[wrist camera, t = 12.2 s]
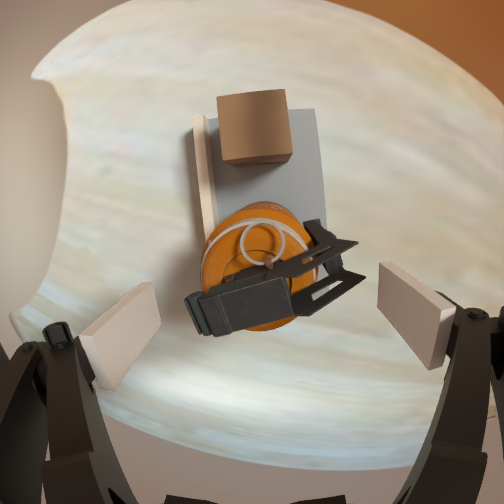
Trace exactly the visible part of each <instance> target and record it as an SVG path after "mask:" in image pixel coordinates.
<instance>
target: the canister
mask: <svg viewBox="0 0 504 504" xmlns="http://www.w3.org/2000/svg"><path fill="white" fill-rule="evenodd" d="M303 226H304V228H303ZM303 226H302V225H301V224H300V222H299V221H298V220H297V219H296V217H295V216H294V215H293V214H292V213H291V212H290V211H289V210H288V209H287V208H285V207H283V206H282V205H279V204H277V203H273V202H266V201H262V202H255V203H252V204H249V205H247V206H245V207H244V208H242V209H240V210H239V211H237V212H236V213H234V214H233V215H231V216H230V217H228V218H227V219H225V220H224V221H223V222H221V223H220V224H219V225H218V226H217V227H216V228H215V229H214V231H213V232H212V233H211V234H210V236H209V238H208V240H207V241H206V244H205V246H204V249H203V253H202V258H201V271H200V279H201V286H202V289H203V291H202V292H201V291H199V292H195V293H192V294H190V295H189V296H188V297H187V298H185V299H184V302H185V304H186V307H187V309H188V311H189V314H190V316H191V318H192V320H193V323H194V325H195V327H196V329H197V331H198V334H199V335H201V334H202V333H203V335H204V336H209V335H212V334H213V336H214V337H219V336H224V335H228V334H231V333H232V332H235V331H239V330H243V329H245V330H249V331H267V330H273V329H276V328H279V327H281V326H283V325H285V324H287V323H289V322H291V321H292V320H294V319H295V318H296V317H298V316H311V315H312V314H314V313H315V312H317V311H318V310H320V309H321V308H323V307H324V306H326V305H327V304H329V303H330V302H332V301H333V300H335V299H336V298H338V297H339V296H341V295H342V294H344V293H345V292H347V291H348V290H350V289H351V288H353V287H354V286H355V285H357V284H358V283H360V282H361V281H362V280H364V279H365V278H366V276H363V275H360V274H356V273H353V272H350V271H347V270H345V269H344V268H343V267H342V266H343V263H342V259H341V255H340V254H341V253H343V252H345V251H346V250H348V249H350V248H352V247H353V246H355V245H357V244H358V243H359V242H356V241H349V240H342V239H337V238H336V236H335V235H334V234H333V233H331V232H330V231H329V232H328V231H327V230H326V229H325V228H323V227H322V225H321V222H320V218H318V219H314V220H309V221H304V222H303ZM321 264H322V265H323V267H324V268H325V270H326V272H327V273H328V276H327V277H325V278H323V279H321V280H319V281H318V282H316V281H317V277H318V270H319V266H320V265H321ZM336 281H343V282H341V283H340V284H338V285H337V286H335V287H334V288H332V289H331V290H329V291H328V292H326V293H325V294H323V295H322V296H320V297H319V298H317V299H315V300H313V298H312V295H313V294H314V293H316V292H318V291H320V290H322V289H323V288H325V287H327V286H329V285H331V284H333V283H334V282H336Z"/></svg>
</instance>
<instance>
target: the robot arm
mask: <svg viewBox="0 0 504 504" xmlns="http://www.w3.org/2000/svg"><path fill="white" fill-rule="evenodd" d="M377 307H378V308H379V310H380V311H381V312H382V313H383V314H384V316H385V317H386V318H387V319H388V320H389V322H390V323H391V324H392V325H393V326H394V328H395V329H396V330H397V331H398V333H399V334H400V335H401V336H402V338H403V339H404V340H405V341H406V343H407V344H408V345H409V346H410V348H411V349H412V350H413V351H414V353H415V354H416V355H417V357H418V358H419V359H420V360H421V362H422V363H423V364H424V366H425V367H426V368H427V370H432V369H435V368H438V367H441V366H443V363H444V359H445V355H446V354H447V355H448V356H449V358H450V362H449V366H448V369H447V372H446V375H445V378H444V380H445V381H444V385H443V389H442V392H441V395H440V399H439V402H438V405H437V408H436V411H435V414H434V417H433V420H432V423H431V425H430V428H429V431H428V433H427V436H426V438H425V441H424V443H423V446H422V448H421V450H420V453H419V455H418V457H417V459H416V462H415V464H414V466H413V468H412V470H411V472H410V474H409V476H408V478H407V480H406V482H405V484H404V486H403V487H402V489H401V491H400V493H399V494H398V496H397V498H396V499H395V501H394V502H393V504H475V503H476V500H477V497H478V494H479V490H480V487H481V484H482V480H483V476H484V472H485V468H486V464H487V457H488V456H487V453H485V452H481V450H482V444H483V438H484V433H485V428H486V421H487V414H488V405H489V394H490V381H491V385H492V389H493V393H494V397H495V402H496V407H497V412H498V418H499V424H500V430H501V438H502V446H503V458H504V306H503V307H502V308H501V310H500V315H499V317H493V318H489V315H488V313H487V312H485V311H484V310H481V309H478V308H467V309H463V308H462V307H461V306H459V305H458V304H456V303H455V302H454V301H452V300H451V299H450V298H448V297H447V296H445V295H444V294H442V293H440V292H437V291H435V290H432V289H431V288H430V287H428V286H427V285H425V284H424V283H422V282H421V281H419V280H418V279H417V278H415V277H414V276H412V275H411V274H409V273H408V272H406V271H405V270H403V269H402V268H400V267H399V266H397V265H396V264H394V263H393V262H391V261H389V262H380V263H379V284H378V303H377ZM161 325H162V322H161V318H160V314H159V310H158V306H157V301H156V297H155V292H154V288H153V283H152V282H146V283H140V284H139V285H138V286H137V287H135V288H134V289H133V290H132V291H130V292H129V293H128V294H127V295H125V296H124V297H123V298H122V299H120V300H119V301H118V302H117V303H116V304H114V305H113V306H112V307H111V308H109V309H108V310H107V311H106V312H105V313H103V314H102V315H101V316H100V317H99V318H97V319H96V320H95V321H94V322H93V323H92V324H90V325H89V326H88V327H87V328H86V329H84V330H83V331H82V332H81V333H80V334H79V335H78V336H77V337H76V338H75V339H73V337H72V335H71V332H70V329H69V326H68V324H67V322H56V323H53V324H50V325H48V326H46V327H45V328H44V329H43V331H42V332H43V335H44V337H45V340H46V343H45V342H38V343H37V342H35V341H33V342H25V343H23V344H22V345H21V346H20V347H19V348H18V349H17V350H16V352H15V354H14V355H13V357H12V358H11V360H9V359H8V357H7V355H6V353H5V351H4V349H3V347H2V345H1V343H0V504H41V493H42V482H43V487H44V493H45V498H46V504H139V503H138V502H137V500H136V498H135V497H134V495H133V493H132V491H131V488H130V487H129V484H128V482H127V480H126V478H125V476H124V473H123V471H122V469H121V466H120V464H119V462H118V459H117V457H116V454H115V452H114V449H113V446H112V444H111V441H110V438H109V435H108V433H107V430H106V426H105V423H104V420H103V417H102V414H101V410H100V407H99V403H98V400H97V396H96V392H95V389H94V387H93V385H92V381H93V380H94V379H95V377H96V380H97V382H98V384H99V386H100V388H103V389H109V390H114V389H115V388H116V386H117V385H118V384H119V382H120V381H121V379H122V378H123V377H124V375H125V374H126V372H127V371H128V370H129V368H130V367H131V365H132V364H133V363H134V361H135V360H136V358H137V357H138V356H139V354H140V353H141V352H142V350H143V349H144V348H145V346H146V345H147V343H148V342H149V341H150V339H151V338H152V337H153V335H154V334H155V333H156V331H157V330H158V329H159V327H160V326H161ZM48 441H49V450H50V459H51V460H49V461H45V458H46V451H47V446H48ZM164 504H217V503H214V502H210V501H207V500H198V499H191V498H184V497H177V496H172V495H166V499H165V502H164ZM291 504H346V499H345V495H340V496H334V497H328V498H321V499H313V500H304V501H298V502H295V503H291Z"/></svg>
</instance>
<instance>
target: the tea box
mask: <svg viewBox="0 0 504 504" xmlns="http://www.w3.org/2000/svg"><path fill="white" fill-rule="evenodd" d="M216 98H217V109H218V119H219V129H220V139H221V149H222V159H223V161H225V162H227V163H228V164H230V165H232V166H234V167H236V168H237V167H246V166H255V165H265V164H275V163H287V162H288V161H289V159H290V157H291V156H292V154H293V148H292V140H291V132H290V124H289V116H288V109H287V102H286V95H285V89H277V90H265V91H255V92H247V93H239V94H232V95H225V96H219V97H216Z"/></svg>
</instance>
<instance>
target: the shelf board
mask: <svg viewBox="0 0 504 504" xmlns="http://www.w3.org/2000/svg"><path fill="white" fill-rule="evenodd" d="M288 116H289V124H290V132H291V140H292V148H293V154H292V156H291V157H290V159H289V161H288V162H287V163H275V164H265V165H255V166H246V167H237V168H236V167H234V166H232V165H230V164H228V163H227V162H225V161H223V159H222V149H221V139H220V129H219V119H218V118H214V119H207V118H206V117H205V116H204V115H203V114H199V115H194V116H192V121H193V136H194V147H195V158H196V165H197V174H198V183H199V192H200V200H201V208H202V216H203V224H204V226H203V227H204V234H205V242H206V241H207V240H208V238H209V236H210V234H211V233H212V232H213V231H214V229H215V228H216V227H217V226H218V225H219V224H220V223H221V222H223V221H224V220H225V219H227V218H228V217H230V216H231V215H233V214H234V213H236V212H237V211H239V210H240V209H242V208H244V207H245V206H247V205H249V204H252V203H255V202H262V201H266V202H273V203H277V204H279V205H282V206H283V207H285V208H287V209H288V210H289V211H290V212H291V213H292V214H293V215H294V216H295V217H296V219H297V220H298V221H299V222H300V224H301V225H302V226H303V222H304V221H309V220H314V219H318V218H320V222H321V225H322V227H323V228H325V229H326V230H327V224H326V209H325V196H324V185H323V174H322V164H321V155H320V147H319V139H318V131H317V124H316V116H315V110H314V109H295V110H288ZM303 228H304V226H303ZM327 276H328V273H327V272H326V270H325V268H324V267H323V265H322V264H321V265H320V266H319V270H318V277H317V281H316V282H318V281H319V280H321V279H323V278H325V277H327ZM328 291H329V286H327V287H325V288H323V289H322V290H320V291H318V292H316V293H314V294H313V295H312V298H313V300H315V299H317V298H319V297H320V296H322V295H323V294H325V293H326V292H328Z"/></svg>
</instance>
